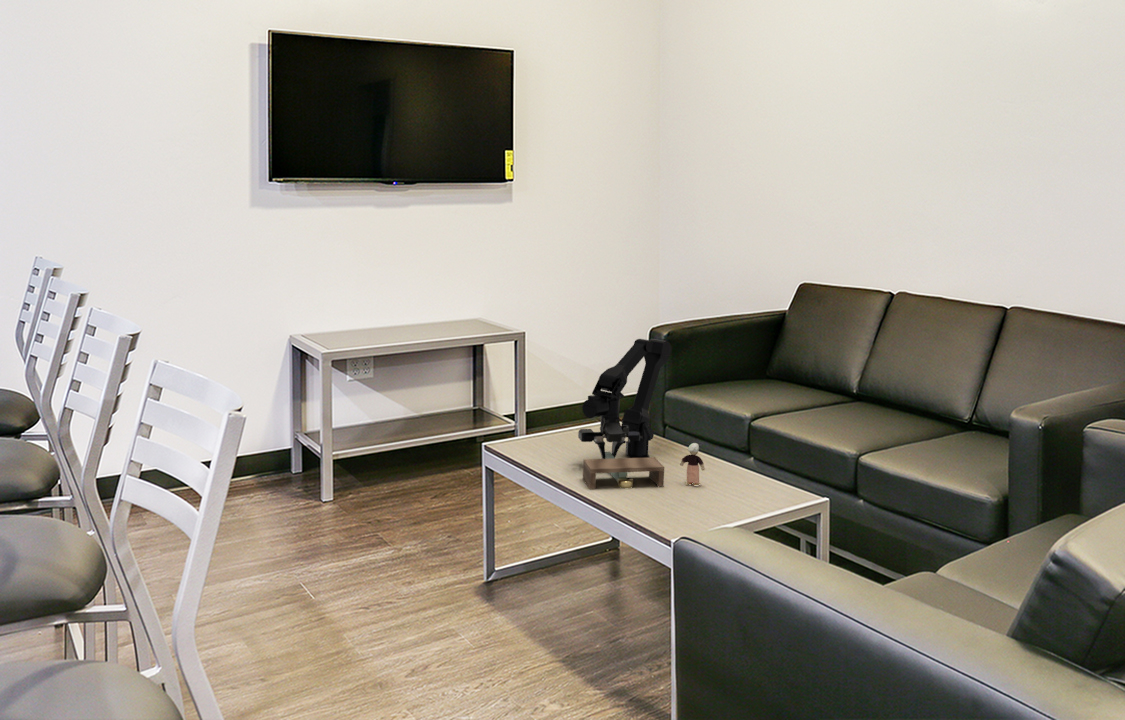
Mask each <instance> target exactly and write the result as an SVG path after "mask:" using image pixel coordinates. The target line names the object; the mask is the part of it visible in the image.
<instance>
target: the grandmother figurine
mask: <svg viewBox="0 0 1125 720" xmlns="http://www.w3.org/2000/svg"><path fill="white" fill-rule="evenodd" d="M699 446H700V445H699V444H698V443H696V442H693V443H691V444H690V445H689V446H688V448H687V451H688V452H689V454H687V455H685V456H683V458H682V459H681V461H680V463H679V465H680V466H681V467H683V466H684V464H685V463H687V467H686V483H687V484H692V483H693V485H699V484H701V485H702V483H701V482H700V469H701V471H705V470H706V468H705V465H704V462H703V460H702V458H701V456H698V453H699V450H700V447H699ZM699 466H700V467H699Z"/></svg>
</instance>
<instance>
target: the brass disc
mask: <svg viewBox="0 0 1125 720" xmlns="http://www.w3.org/2000/svg"><path fill="white" fill-rule="evenodd" d="M620 487H621V488H620ZM631 487H632V488H633V487H634V479H633V478H631V477H628V476H627V477H621V478H618V482H617V488H620V489H625V488H628V489H632V488H631Z"/></svg>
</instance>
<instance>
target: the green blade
mask: <svg viewBox="0 0 1125 720" xmlns="http://www.w3.org/2000/svg"><path fill="white" fill-rule="evenodd" d="M605 459H617V458H616V457H614V456H613V455H612V451H605ZM610 475H611V476H612V477H613V478H614V480H615V481H616V482H617V483H618V478H621V477H628V472H616V473H610Z"/></svg>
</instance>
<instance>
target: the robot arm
mask: <svg viewBox="0 0 1125 720" xmlns="http://www.w3.org/2000/svg"><path fill="white" fill-rule="evenodd" d="M671 354H672V345H671V343H670V342H669V341H668V340H662V339H657V338H650V339H644V338H637V339H635V341H634V342H633V344H632V346H631V347H630V348H629V350H628V351H627V352H626V353H625V354H624V355H623V356H622V358H620V360H619V361H618V363H616V364H615V365H614V366H611V367H609V368H606V370H605V371H603V372H602V373H601V374H600V376H599V378H598V380H597V381H596V384H595V386H594V388H593V390H592V392H591V394H592V395H591V394H590V395H588V396H587V400H585V401H584V402H583V404H582V407H581V409H582V413H583V414H584V416H585V417H586V418H588V419H595V418H598V417H600V427H599V430H600V431H594V430H593V429H592V428H580V429H578V432H577V433H578V434H577V435H578V439H579V440H580V442H583V443H592V442H594V444H595V445H597V446H598V449H599V453H600V455H601V456H600V457H601V459H605V452H606V449H605V448H606V447H605V446H606V442H607V443H612V444H611V445H612V446H611V454H612V455H613V456H614V457H615V458H616V456H617V454H618V451H619V449H620V448H621V446H623V445H624V444H625V454H626V455H627V458H651V456H650V455H649V443H650V441H651V440H654V439H653V438H654V435H655V431H653V428H651V426H650V423H651V422H650V421H651V418H650V414H649V408H650V404H651V401H652V397H653V395H654V390H655V388H656V384H657V380H658V376H659V374H660V370H661V368H662V367H663V366H664V365H666V363H668V360H669V358H670V357H671ZM643 359H644V362H645V365H644V368H643V371H642V375H641V378H640V382H639V385H638V388H637V392H636V394H635V398H634V401H633V405H632V406H631V407H630V408H626V409H625V410H624V413H623V417H622V419H620V418H621V417H620V409H621V408H620V406H621V405H620V404H621V399H623V398H624V397H625V394H624V393H622V391H623V389H624V388H625V387H626V384H627V383H628V376H629V375H630V373H632V371H633V370H634V369H635V368H636V366H637V365H638V364H640V362H641V361H642V360H643ZM620 420H621V421H620ZM626 438H627V441H626ZM604 439H606V441H605V440H604Z"/></svg>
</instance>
